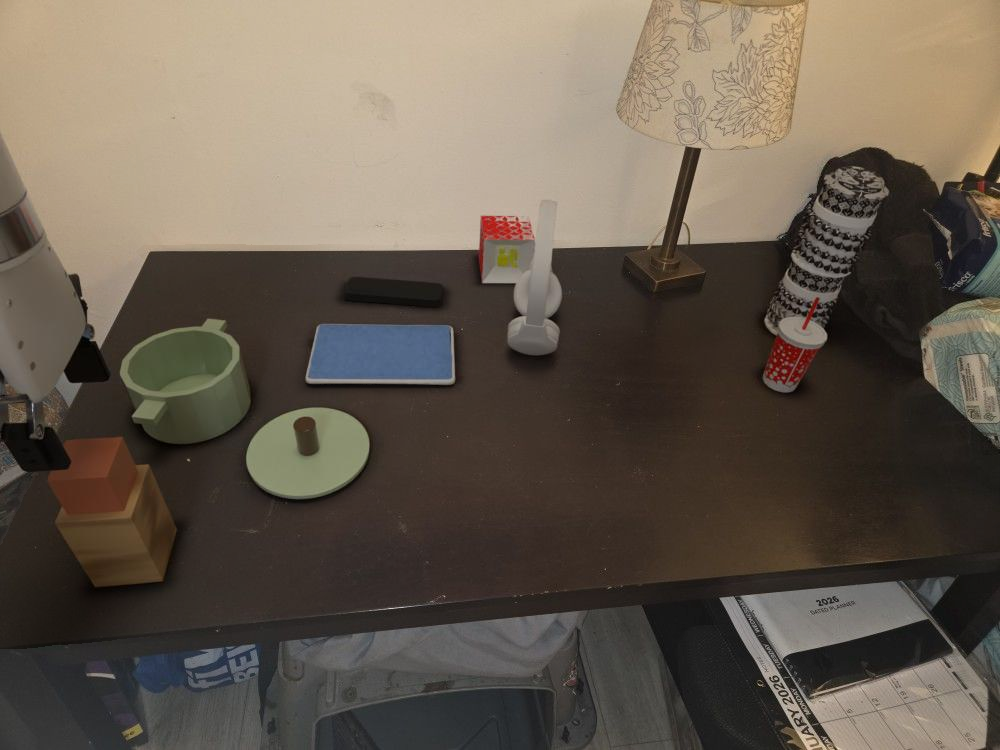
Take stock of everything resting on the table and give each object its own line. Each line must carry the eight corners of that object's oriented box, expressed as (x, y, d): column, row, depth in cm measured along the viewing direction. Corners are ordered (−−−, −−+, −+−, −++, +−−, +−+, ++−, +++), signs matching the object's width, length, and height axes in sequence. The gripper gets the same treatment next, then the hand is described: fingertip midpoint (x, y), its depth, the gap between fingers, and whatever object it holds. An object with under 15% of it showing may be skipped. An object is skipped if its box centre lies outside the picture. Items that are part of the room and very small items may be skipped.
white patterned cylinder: (762, 304, 105) (822, 154, 89) (821, 318, 103) (894, 167, 87) (760, 335, 99) (824, 179, 82) (823, 351, 97) (902, 194, 81)
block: (124, 510, 56) (106, 476, 53) (66, 515, 55) (46, 480, 52) (138, 470, 59) (122, 436, 56) (84, 474, 58) (66, 439, 55)
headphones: (559, 303, 102) (577, 182, 89) (554, 378, 88) (575, 248, 75) (514, 297, 102) (525, 176, 89) (502, 372, 88) (513, 241, 75)
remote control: (444, 292, 103) (349, 282, 102) (444, 283, 102) (348, 272, 101) (441, 310, 99) (342, 300, 98) (441, 301, 98) (342, 290, 97)
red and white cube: (481, 283, 105) (484, 239, 100) (478, 257, 111) (480, 215, 105) (530, 283, 106) (535, 240, 100) (524, 258, 112) (529, 216, 106)
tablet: (453, 330, 95) (453, 323, 94) (455, 388, 85) (455, 380, 84) (318, 329, 93) (317, 322, 92) (304, 388, 83) (303, 380, 82)
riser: (163, 581, 62) (131, 517, 55) (94, 587, 61) (54, 523, 54) (177, 529, 66) (149, 464, 60) (113, 534, 65) (78, 468, 59)
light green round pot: (274, 366, 86) (264, 320, 81) (214, 468, 72) (198, 420, 67) (181, 355, 86) (166, 308, 82) (105, 454, 73) (81, 405, 68)
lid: (382, 421, 80) (380, 390, 76) (351, 510, 69) (347, 478, 66) (274, 408, 80) (267, 376, 77) (227, 494, 70) (217, 462, 66)
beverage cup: (798, 371, 93) (838, 289, 83) (804, 399, 88) (847, 316, 79) (754, 364, 93) (789, 281, 84) (758, 391, 89) (796, 307, 80)
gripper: (-35, 169, 46) (58, 353, 57) (-190, 312, 33) (-31, 513, 45) (80, 169, 47) (149, 350, 58) (-28, 308, 34) (86, 505, 46)
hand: (71, 421), depth 52 cm, fingers open, 9 cm apart
